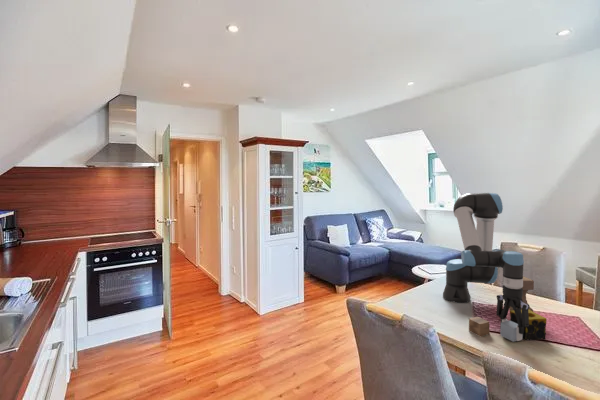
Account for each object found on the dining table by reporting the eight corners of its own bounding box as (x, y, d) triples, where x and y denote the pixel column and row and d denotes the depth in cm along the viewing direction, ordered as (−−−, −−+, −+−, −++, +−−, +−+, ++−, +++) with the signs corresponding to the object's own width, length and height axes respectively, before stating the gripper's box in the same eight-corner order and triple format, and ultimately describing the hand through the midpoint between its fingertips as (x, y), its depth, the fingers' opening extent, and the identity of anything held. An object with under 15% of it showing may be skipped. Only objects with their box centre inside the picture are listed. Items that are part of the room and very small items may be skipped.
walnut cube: (468, 330, 150) (469, 318, 150) (478, 328, 152) (478, 316, 152) (479, 336, 145) (480, 324, 144) (489, 334, 147) (489, 321, 146)
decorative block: (533, 318, 161) (534, 280, 160) (522, 318, 161) (522, 280, 160) (519, 309, 172) (520, 274, 171) (508, 309, 172) (509, 274, 171)
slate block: (500, 335, 144) (500, 322, 143) (509, 333, 146) (509, 320, 145) (513, 341, 138) (513, 328, 138) (522, 339, 140) (522, 326, 140)
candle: (508, 330, 150) (508, 310, 149) (528, 329, 151) (528, 308, 150) (525, 341, 140) (525, 319, 139) (546, 339, 141) (547, 318, 140)
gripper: (487, 281, 148) (486, 328, 149) (528, 294, 130) (527, 348, 132) (498, 279, 151) (498, 325, 152) (540, 292, 133) (539, 344, 134)
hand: (511, 336), depth 142 cm, fingers closed on slate block, 6 cm apart
